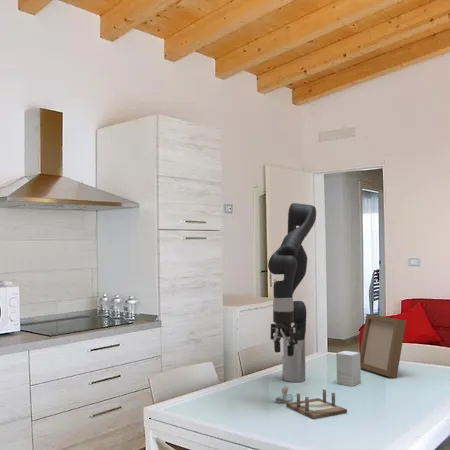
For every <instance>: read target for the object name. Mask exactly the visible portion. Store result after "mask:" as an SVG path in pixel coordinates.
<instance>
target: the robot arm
mask: <svg viewBox="0 0 450 450" xmlns="http://www.w3.org/2000/svg"><path fill="white" fill-rule="evenodd" d="M316 218H317V208H316V207H315V206H314V205H311V204H306V203H298V202H297V203H296V202H293V203H291V204H290V206H289V208H288V213H287V234H286V235H285V236H284V237H283V240H282V242H281V244H280V246H279V248H278V249H276V250H275V251H274V252H273V253H272V254H271V256H270V258H269V260H268V262H267V263H268V264H267V267H268V270H269V272H270V273H271V274H272V275H283V279H282V280H276V281H274V283H273V301H272V312H273V313H272V316H273V317H272V322H273V323H270V338H269V339H270V340H272V342H273V344H274V345H273V347H274V350H273V351H274V353H276V354H277V353H280V352H281V342H280V341H281V340H282V339H283V340H282V341H283V342H282V344H283V345H282V347H283V349H282V350H283V353H282V363H281V364H282V379H283V380H284V381H285V382H289V383H290V382H292V383H299V382H300V383H301V382H304V381H306V332H307V327H306V326H307V308H306V307H307V306H306V304H305V302H304V301H302V300H294V298H293V297H294V296H293V295H294V293H295V291H296V289H297V287H298V286H299V285H300V283H301V282H302V281H303V279H304V277H305V276H306V274H307V267H308V256H307V253H306V251H305V248H304V246H303V245H302V243H303V242H304V240H305V238H306V237H307V236H308V234H309V233H310V232H311V230H312V228H313V227H314V225H315V223H316V220H317V219H316ZM292 324H293V326H292Z"/></svg>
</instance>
